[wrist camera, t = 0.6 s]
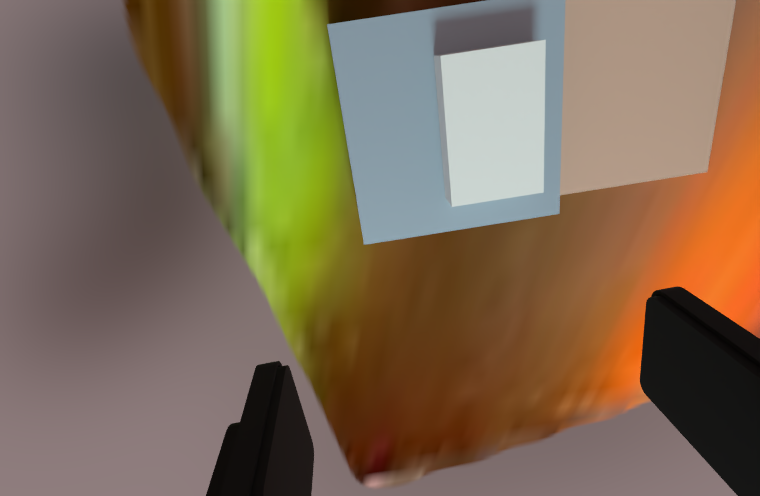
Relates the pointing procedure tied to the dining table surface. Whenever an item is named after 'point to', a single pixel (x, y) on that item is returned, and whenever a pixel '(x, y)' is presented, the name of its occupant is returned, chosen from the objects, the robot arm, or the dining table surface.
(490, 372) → the dining table surface
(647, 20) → the mat
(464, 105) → the tile
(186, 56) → the dining table surface
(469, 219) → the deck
